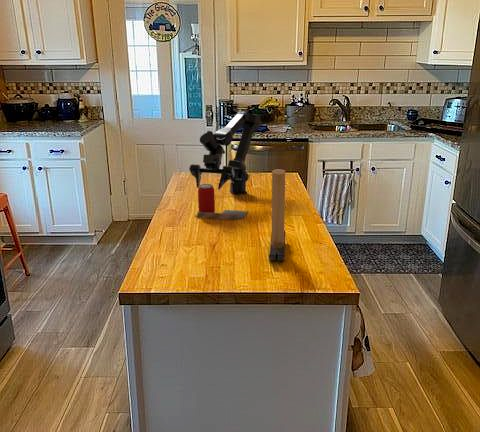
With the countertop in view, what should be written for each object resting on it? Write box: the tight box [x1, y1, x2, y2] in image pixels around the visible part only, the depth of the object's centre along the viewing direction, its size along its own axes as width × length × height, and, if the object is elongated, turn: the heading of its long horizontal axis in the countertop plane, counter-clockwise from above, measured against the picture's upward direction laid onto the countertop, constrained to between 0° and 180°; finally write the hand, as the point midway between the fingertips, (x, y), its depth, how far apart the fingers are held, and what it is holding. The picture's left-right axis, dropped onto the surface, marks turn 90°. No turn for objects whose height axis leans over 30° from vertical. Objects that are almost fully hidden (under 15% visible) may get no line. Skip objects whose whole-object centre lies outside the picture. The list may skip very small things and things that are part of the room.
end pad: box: [222, 209, 249, 220], centre depth 198 cm, size 10×9×1 cm
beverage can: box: [197, 183, 216, 213], centre depth 198 cm, size 7×7×12 cm
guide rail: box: [196, 211, 237, 221], centre depth 193 cm, size 16×2×2 cm, turn 77°
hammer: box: [268, 168, 286, 262], centre depth 154 cm, size 20×5×30 cm, turn 174°
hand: (208, 188), depth 199 cm, fingers open, 9 cm apart
